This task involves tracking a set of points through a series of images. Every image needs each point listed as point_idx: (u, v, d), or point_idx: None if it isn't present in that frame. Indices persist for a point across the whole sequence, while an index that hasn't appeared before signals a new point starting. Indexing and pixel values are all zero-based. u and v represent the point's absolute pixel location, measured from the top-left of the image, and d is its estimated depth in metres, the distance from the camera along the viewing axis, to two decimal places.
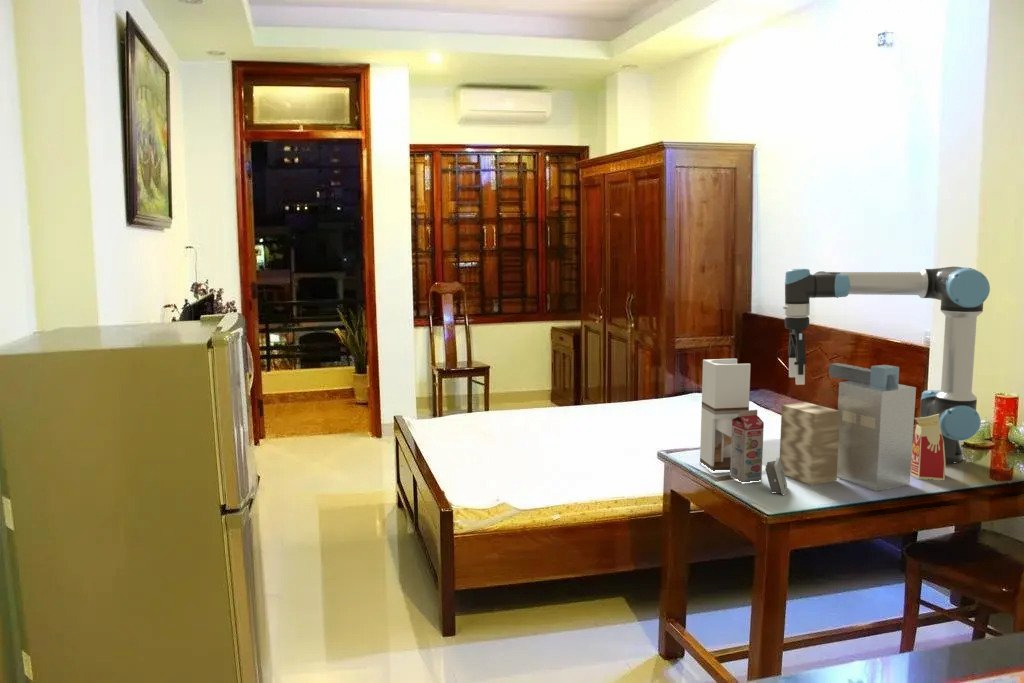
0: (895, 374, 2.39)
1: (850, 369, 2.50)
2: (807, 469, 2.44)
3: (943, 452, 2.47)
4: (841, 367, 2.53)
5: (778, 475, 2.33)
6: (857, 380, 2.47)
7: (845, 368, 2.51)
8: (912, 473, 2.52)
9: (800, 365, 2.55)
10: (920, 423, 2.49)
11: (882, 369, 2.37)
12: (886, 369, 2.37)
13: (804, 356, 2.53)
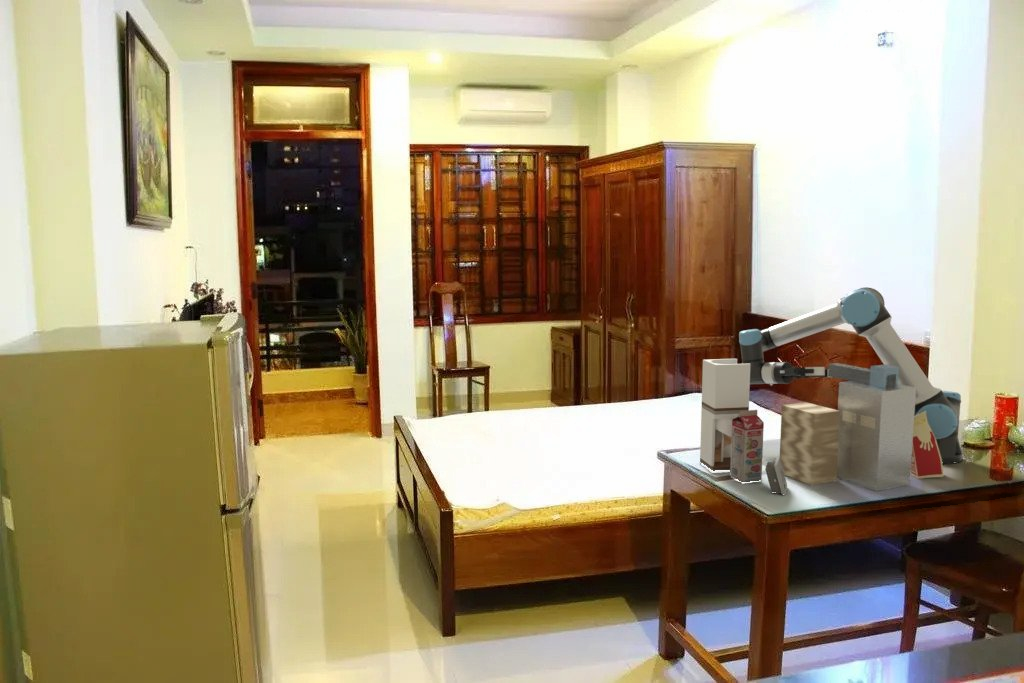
0: (895, 374, 2.39)
1: (849, 369, 2.50)
2: (807, 469, 2.44)
3: (937, 448, 2.46)
4: (840, 367, 2.53)
5: (778, 475, 2.33)
6: (856, 380, 2.47)
7: (844, 368, 2.51)
8: (911, 473, 2.52)
9: (803, 371, 2.63)
10: None
11: (882, 369, 2.38)
12: (886, 369, 2.37)
13: (793, 368, 2.64)
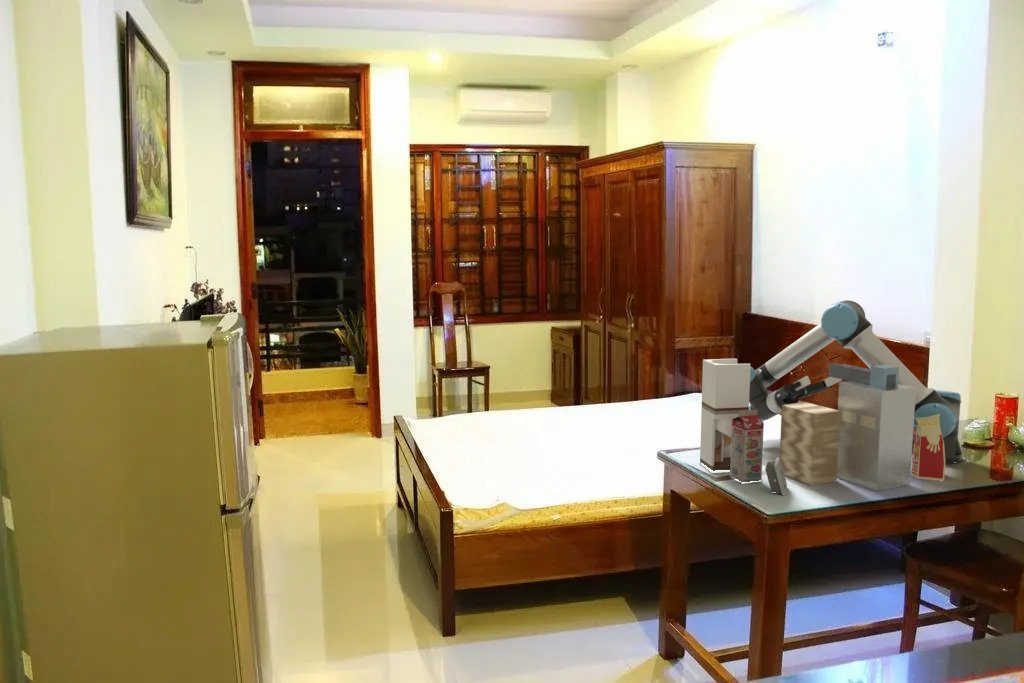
0: (895, 374, 2.39)
1: (849, 369, 2.50)
2: (807, 469, 2.44)
3: (943, 452, 2.47)
4: (840, 367, 2.53)
5: (778, 475, 2.33)
6: (856, 380, 2.47)
7: (844, 368, 2.51)
8: (912, 473, 2.52)
9: (791, 387, 2.64)
10: (920, 423, 2.49)
11: (882, 369, 2.38)
12: (886, 369, 2.37)
13: (782, 388, 2.66)
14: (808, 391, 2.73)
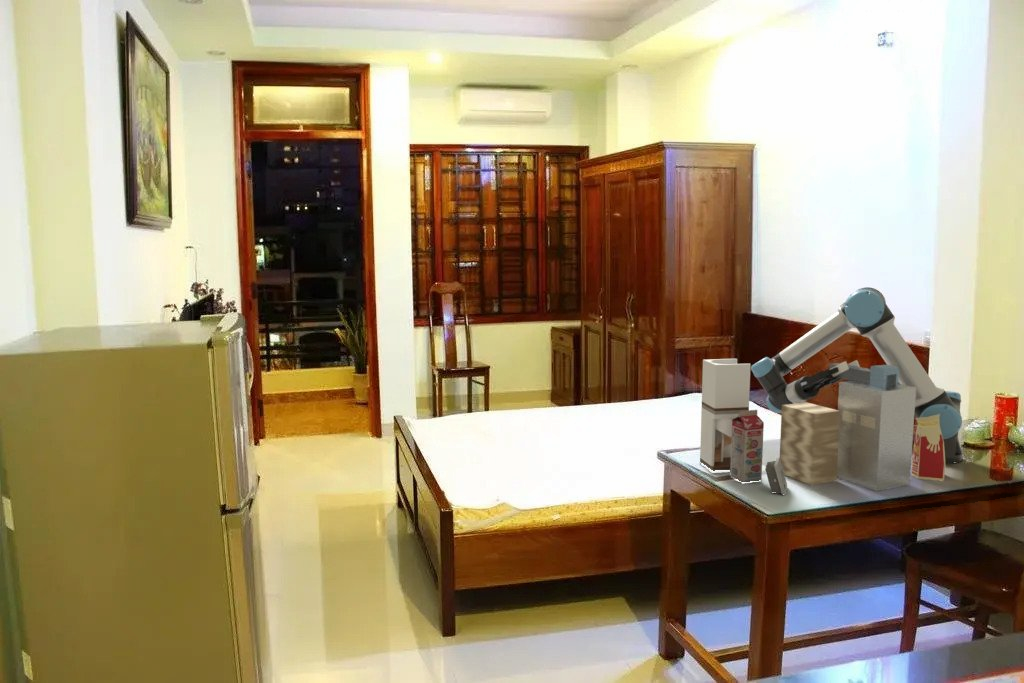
0: (895, 374, 2.39)
1: (850, 369, 2.50)
2: (807, 469, 2.44)
3: (943, 452, 2.47)
4: None
5: (778, 475, 2.33)
6: (857, 380, 2.47)
7: None
8: (912, 473, 2.52)
9: (828, 373, 2.55)
10: (920, 423, 2.49)
11: (882, 369, 2.37)
12: (886, 369, 2.37)
13: (817, 374, 2.57)
14: (827, 381, 2.63)
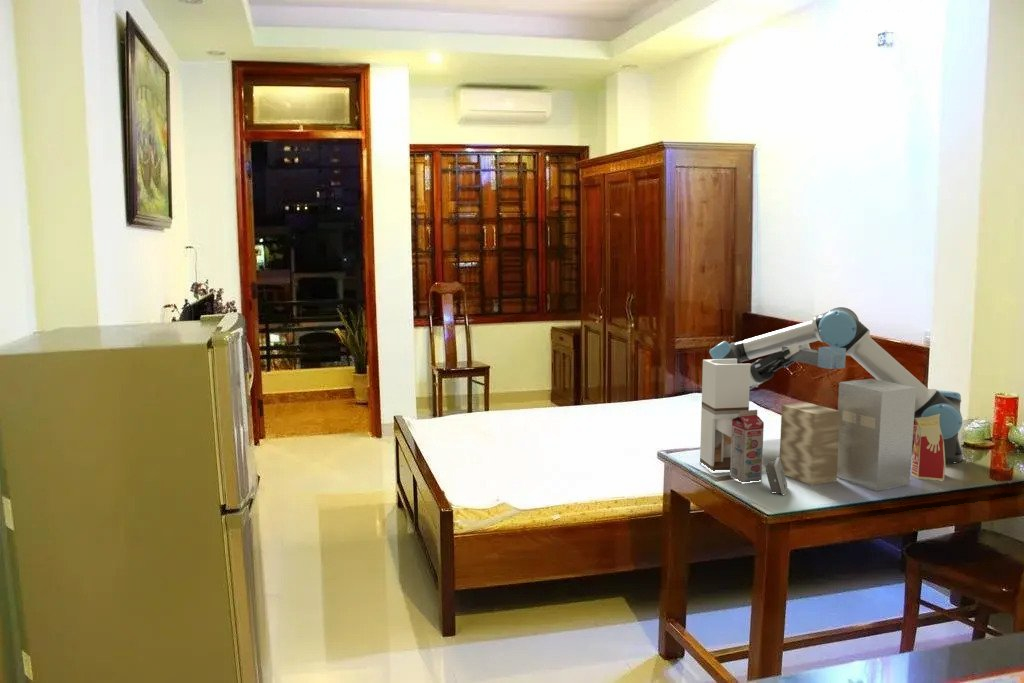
0: (842, 355, 2.44)
1: (800, 351, 2.55)
2: (807, 469, 2.44)
3: (943, 452, 2.47)
4: None
5: (778, 475, 2.33)
6: (806, 361, 2.53)
7: None
8: (912, 473, 2.52)
9: (780, 355, 2.61)
10: (920, 423, 2.49)
11: (829, 350, 2.43)
12: (832, 350, 2.42)
13: (770, 356, 2.63)
14: (780, 363, 2.69)
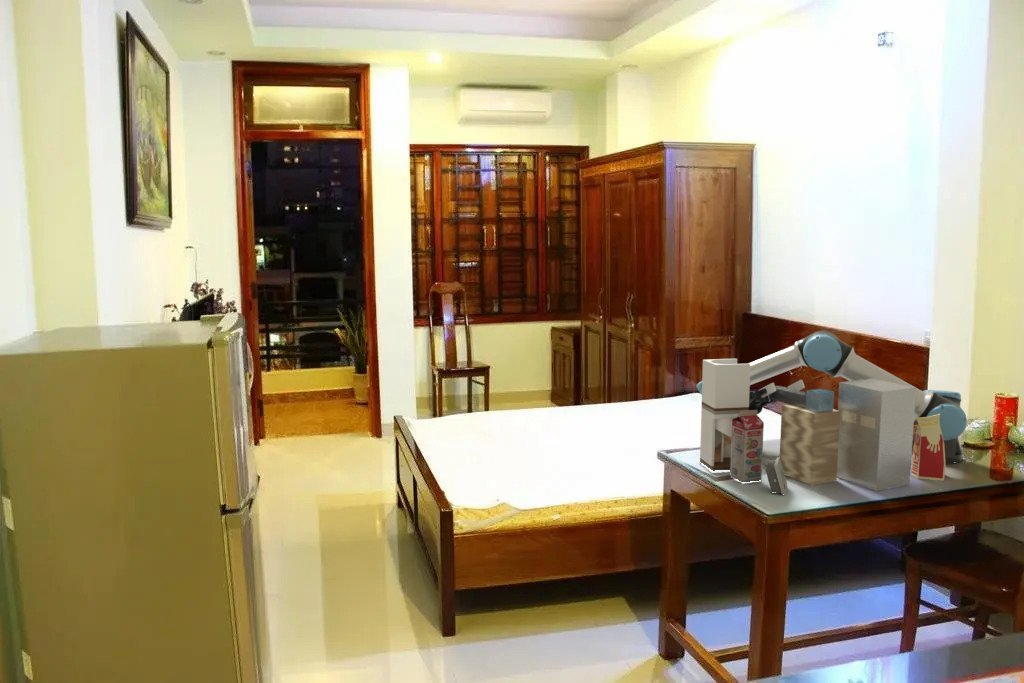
0: (830, 398, 2.43)
1: (788, 392, 2.54)
2: (807, 469, 2.44)
3: (943, 452, 2.47)
4: (780, 390, 2.57)
5: (778, 475, 2.33)
6: (795, 404, 2.52)
7: (784, 391, 2.56)
8: (912, 473, 2.52)
9: (757, 394, 2.59)
10: (920, 423, 2.49)
11: (816, 394, 2.42)
12: (820, 394, 2.41)
13: None
14: (771, 399, 2.68)
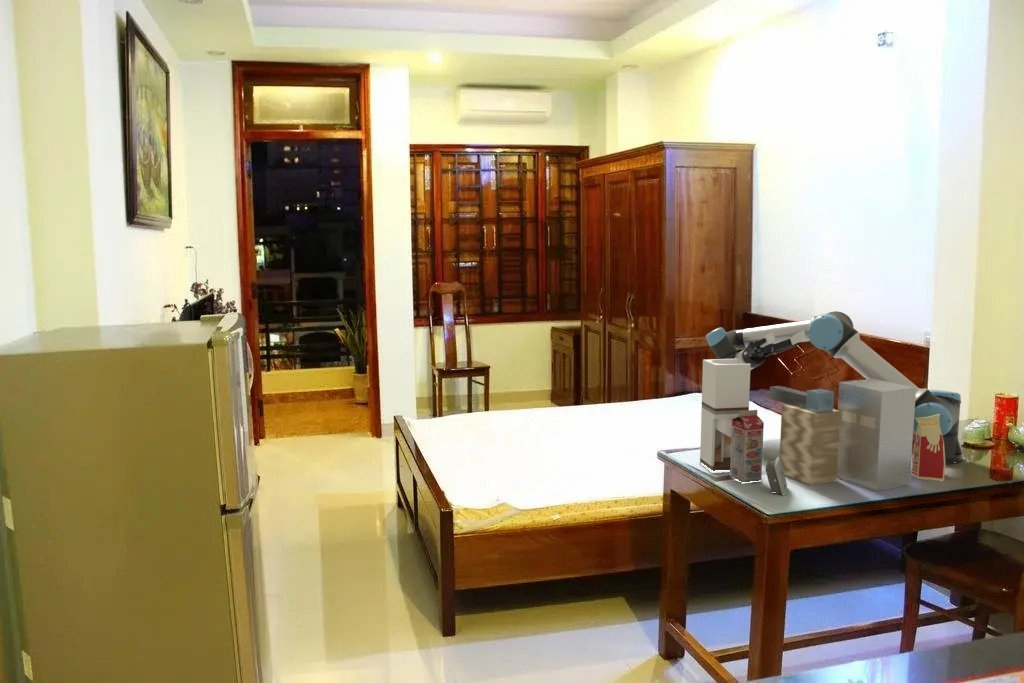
0: (830, 398, 2.43)
1: (788, 392, 2.54)
2: (807, 469, 2.44)
3: (943, 452, 2.47)
4: (780, 390, 2.57)
5: (778, 475, 2.33)
6: (795, 404, 2.52)
7: (784, 391, 2.56)
8: (912, 473, 2.52)
9: (757, 344, 2.72)
10: (920, 423, 2.49)
11: (816, 394, 2.42)
12: (820, 394, 2.41)
13: (749, 345, 2.74)
14: (774, 349, 2.81)
